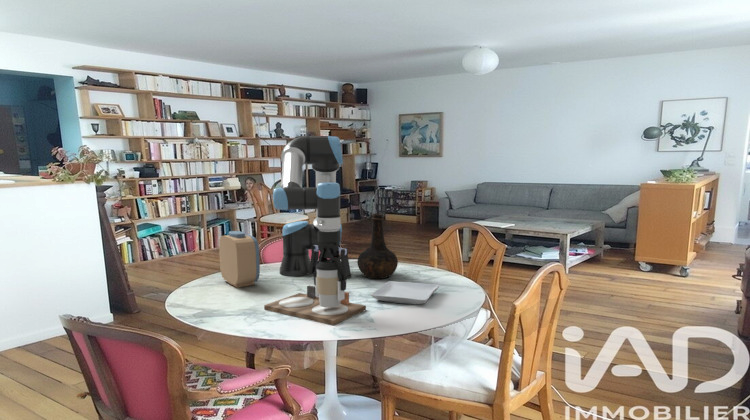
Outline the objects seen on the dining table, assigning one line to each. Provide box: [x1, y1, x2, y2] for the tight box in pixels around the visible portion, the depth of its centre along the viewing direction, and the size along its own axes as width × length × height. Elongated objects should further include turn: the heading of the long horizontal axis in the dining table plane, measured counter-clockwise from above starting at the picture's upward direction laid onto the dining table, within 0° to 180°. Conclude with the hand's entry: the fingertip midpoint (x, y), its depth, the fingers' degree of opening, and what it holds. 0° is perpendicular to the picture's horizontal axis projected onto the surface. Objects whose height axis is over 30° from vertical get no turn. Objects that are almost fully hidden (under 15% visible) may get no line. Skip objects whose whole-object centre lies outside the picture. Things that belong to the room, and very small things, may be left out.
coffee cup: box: [316, 258, 341, 308], centre depth 156 cm, size 9×9×15 cm
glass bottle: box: [357, 213, 399, 280], centre depth 207 cm, size 18×18×28 cm
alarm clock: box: [218, 230, 261, 288], centre depth 197 cm, size 21×10×22 cm, turn 37°
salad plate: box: [370, 280, 440, 305], centre depth 176 cm, size 21×21×3 cm
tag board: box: [263, 285, 367, 326], centre depth 161 cm, size 30×18×6 cm, turn 57°
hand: (330, 297), depth 156 cm, fingers closed on coffee cup, 8 cm apart
